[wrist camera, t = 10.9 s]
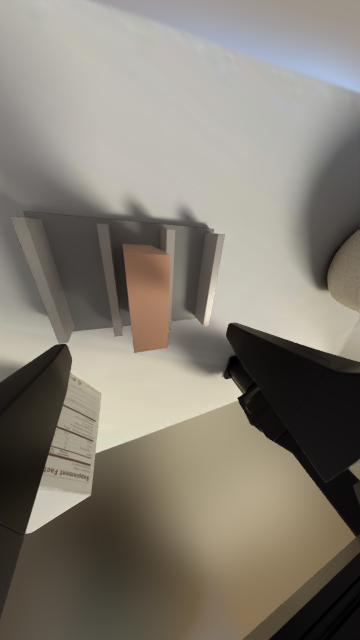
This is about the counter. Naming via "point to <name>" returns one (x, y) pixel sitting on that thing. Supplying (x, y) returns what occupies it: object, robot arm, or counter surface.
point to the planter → (346, 273)
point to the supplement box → (69, 455)
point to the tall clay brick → (147, 295)
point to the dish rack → (113, 268)
